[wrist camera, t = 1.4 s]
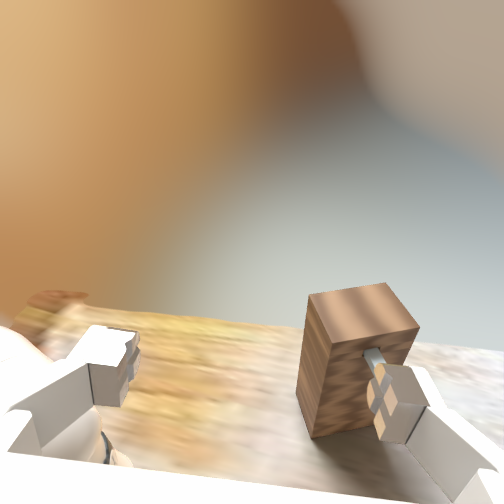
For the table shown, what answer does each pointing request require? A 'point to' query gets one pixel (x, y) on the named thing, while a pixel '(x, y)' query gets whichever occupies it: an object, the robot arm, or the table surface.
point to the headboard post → (348, 354)
